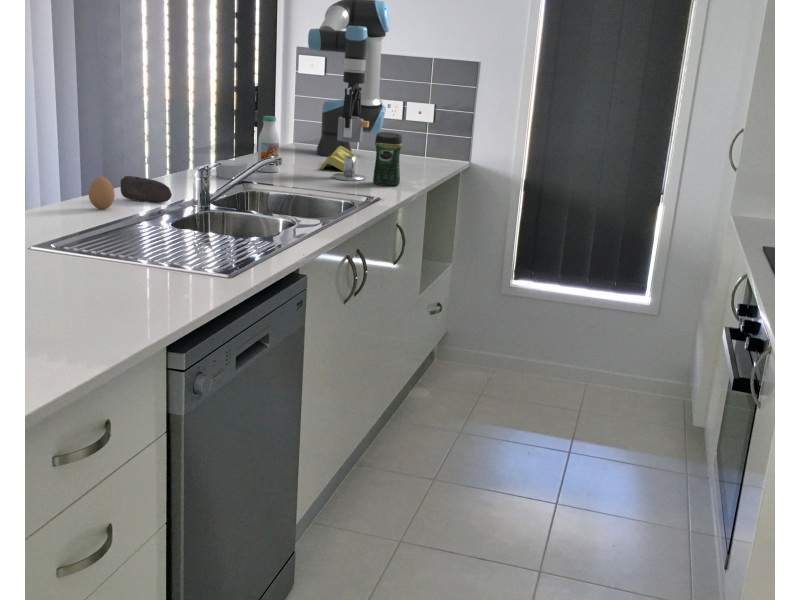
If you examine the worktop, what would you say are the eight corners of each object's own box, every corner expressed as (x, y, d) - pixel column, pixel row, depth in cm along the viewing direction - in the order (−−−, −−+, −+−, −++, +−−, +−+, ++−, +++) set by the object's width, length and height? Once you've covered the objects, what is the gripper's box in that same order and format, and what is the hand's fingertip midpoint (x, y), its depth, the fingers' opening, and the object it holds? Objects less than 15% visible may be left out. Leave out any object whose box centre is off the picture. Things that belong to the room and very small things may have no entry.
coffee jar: (401, 184, 310) (405, 132, 304) (396, 187, 302) (400, 134, 297) (375, 181, 311) (378, 129, 306) (370, 184, 304) (373, 132, 298)
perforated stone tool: (175, 202, 251) (175, 179, 249) (167, 205, 246) (167, 182, 244) (127, 197, 253) (127, 174, 251) (119, 200, 248) (118, 176, 246)
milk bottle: (253, 171, 313) (254, 115, 307) (264, 168, 320) (265, 114, 314) (271, 173, 310) (273, 118, 304) (282, 171, 317) (284, 116, 311)
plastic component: (350, 166, 325) (327, 153, 324) (341, 183, 327) (318, 169, 327) (358, 156, 343) (337, 143, 342) (350, 171, 346) (329, 159, 345)
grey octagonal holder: (341, 138, 314) (342, 116, 311) (369, 141, 312) (371, 119, 309) (335, 140, 306) (336, 118, 303) (364, 143, 304) (365, 121, 302)
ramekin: (227, 181, 290) (227, 166, 288) (208, 176, 297) (208, 161, 295) (254, 179, 298) (254, 164, 296) (234, 173, 305) (234, 159, 303)
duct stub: (337, 174, 320) (339, 152, 317) (368, 177, 318) (370, 156, 315) (328, 178, 309) (329, 156, 306) (360, 182, 306) (361, 160, 304)
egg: (117, 211, 234) (117, 179, 232) (92, 212, 231) (91, 179, 228) (111, 206, 240) (110, 174, 237) (86, 207, 236) (85, 175, 234)
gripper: (352, 69, 312) (348, 132, 319) (335, 71, 293) (332, 137, 299) (372, 71, 311) (368, 134, 318) (356, 73, 291) (352, 139, 298)
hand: (350, 135), depth 309 cm, fingers closed on grey octagonal holder, 8 cm apart
